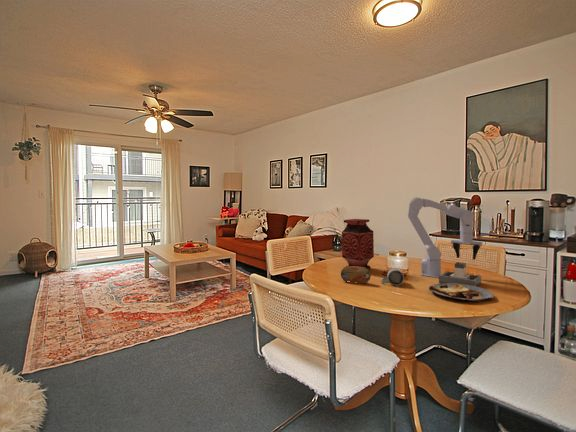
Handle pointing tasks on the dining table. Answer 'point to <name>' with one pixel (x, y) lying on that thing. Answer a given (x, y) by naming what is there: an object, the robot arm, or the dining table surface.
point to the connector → (460, 269)
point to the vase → (357, 243)
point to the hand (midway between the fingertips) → (466, 258)
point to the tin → (355, 274)
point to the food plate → (460, 291)
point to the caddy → (460, 279)
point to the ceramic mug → (394, 277)
